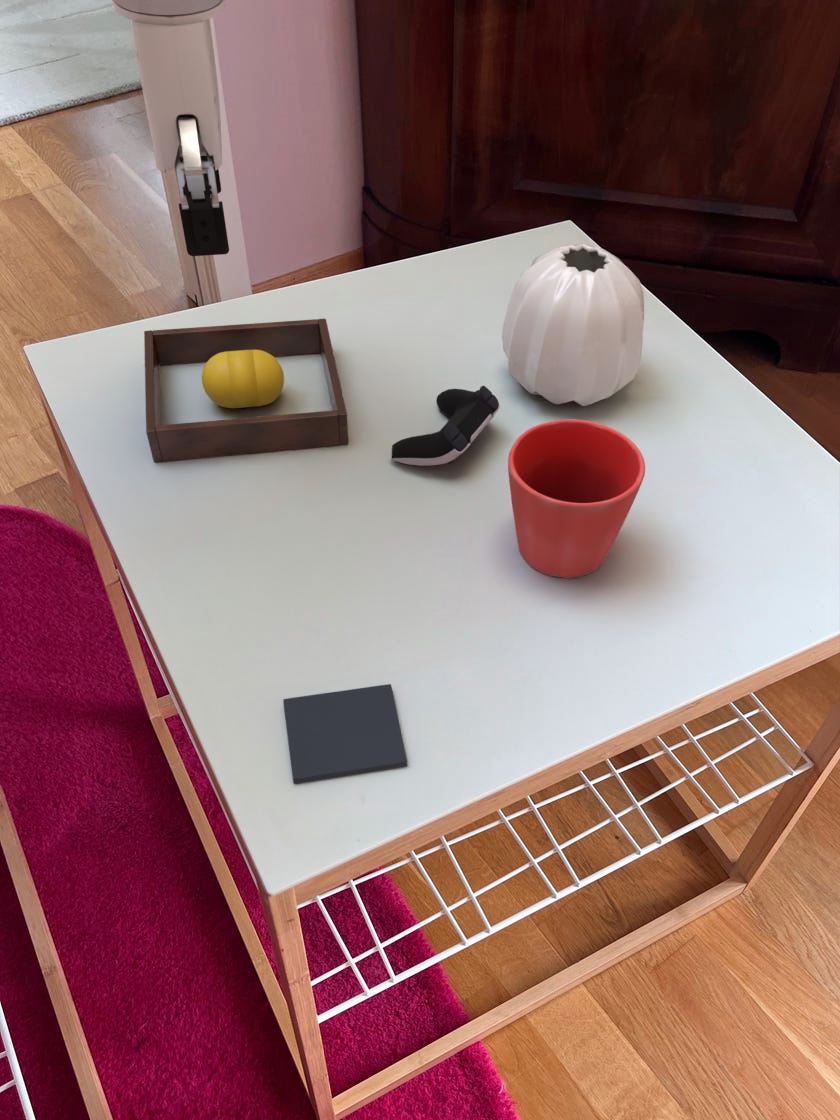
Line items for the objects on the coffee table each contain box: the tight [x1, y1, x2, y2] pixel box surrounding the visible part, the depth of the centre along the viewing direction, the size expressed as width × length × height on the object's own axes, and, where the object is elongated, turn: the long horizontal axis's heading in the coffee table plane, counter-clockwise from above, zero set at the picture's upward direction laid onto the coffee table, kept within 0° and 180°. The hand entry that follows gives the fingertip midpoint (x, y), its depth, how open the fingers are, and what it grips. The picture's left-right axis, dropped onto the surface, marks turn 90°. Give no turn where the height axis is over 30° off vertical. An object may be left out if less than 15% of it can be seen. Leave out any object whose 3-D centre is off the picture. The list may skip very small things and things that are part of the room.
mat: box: [282, 683, 408, 784], centre depth 71 cm, size 8×7×1 cm
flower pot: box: [507, 418, 646, 579], centre depth 81 cm, size 11×11×10 cm
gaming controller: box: [391, 385, 501, 467], centre depth 91 cm, size 11×4×7 cm
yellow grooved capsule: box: [201, 350, 285, 409], centre depth 93 cm, size 8×5×5 cm
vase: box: [501, 243, 645, 407], centre depth 95 cm, size 14×14×13 cm
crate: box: [143, 318, 349, 463], centre depth 93 cm, size 18×16×4 cm
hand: (205, 222), depth 80 cm, fingers open, 9 cm apart
